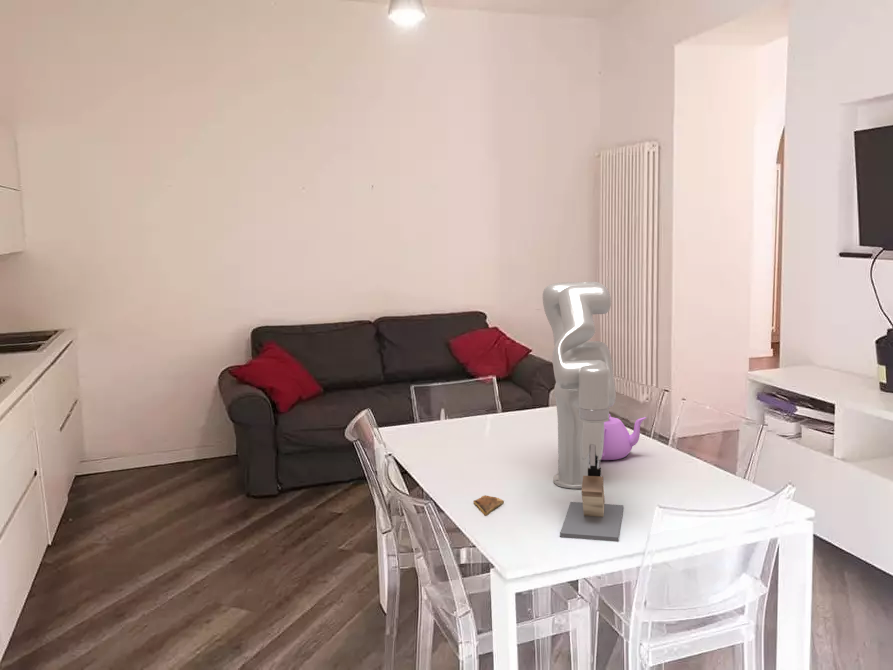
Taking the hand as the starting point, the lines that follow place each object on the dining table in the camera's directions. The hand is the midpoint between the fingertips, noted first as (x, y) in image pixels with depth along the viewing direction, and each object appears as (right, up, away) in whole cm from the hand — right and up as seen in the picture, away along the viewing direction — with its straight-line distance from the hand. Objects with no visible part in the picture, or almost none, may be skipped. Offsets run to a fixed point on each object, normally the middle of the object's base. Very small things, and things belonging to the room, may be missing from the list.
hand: (594, 482), depth 209 cm
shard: (-26, -9, +11) cm, 30 cm away
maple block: (0, -7, +1) cm, 7 cm away
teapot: (+16, -1, +53) cm, 55 cm away
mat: (-1, -10, -2) cm, 10 cm away
